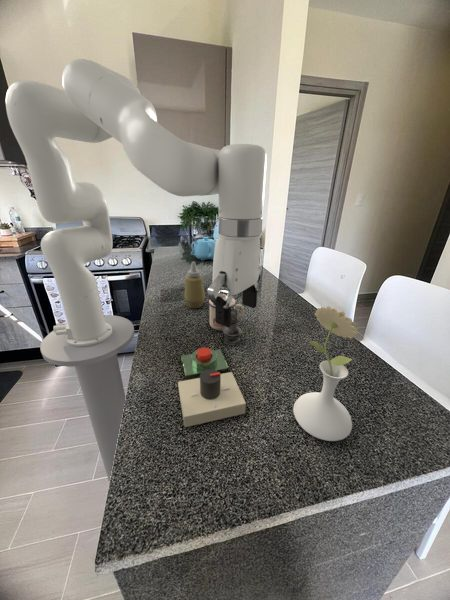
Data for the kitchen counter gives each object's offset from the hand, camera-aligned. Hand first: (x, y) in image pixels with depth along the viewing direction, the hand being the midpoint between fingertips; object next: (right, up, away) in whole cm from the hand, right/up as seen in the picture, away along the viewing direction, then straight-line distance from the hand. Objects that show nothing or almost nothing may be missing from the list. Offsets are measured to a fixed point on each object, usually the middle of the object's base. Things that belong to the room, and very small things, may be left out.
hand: (237, 314), depth 51 cm
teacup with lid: (-2, -6, +37) cm, 37 cm away
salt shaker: (0, -10, +28) cm, 29 cm away
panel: (-6, -20, +5) cm, 22 cm away
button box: (-8, -15, +16) cm, 23 cm away
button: (-8, -12, +14) cm, 20 cm away
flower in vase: (+17, -22, +2) cm, 28 cm away
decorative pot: (-15, +30, +112) cm, 117 cm away
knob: (-6, -17, +4) cm, 19 cm away
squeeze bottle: (-14, +1, +49) cm, 51 cm away
